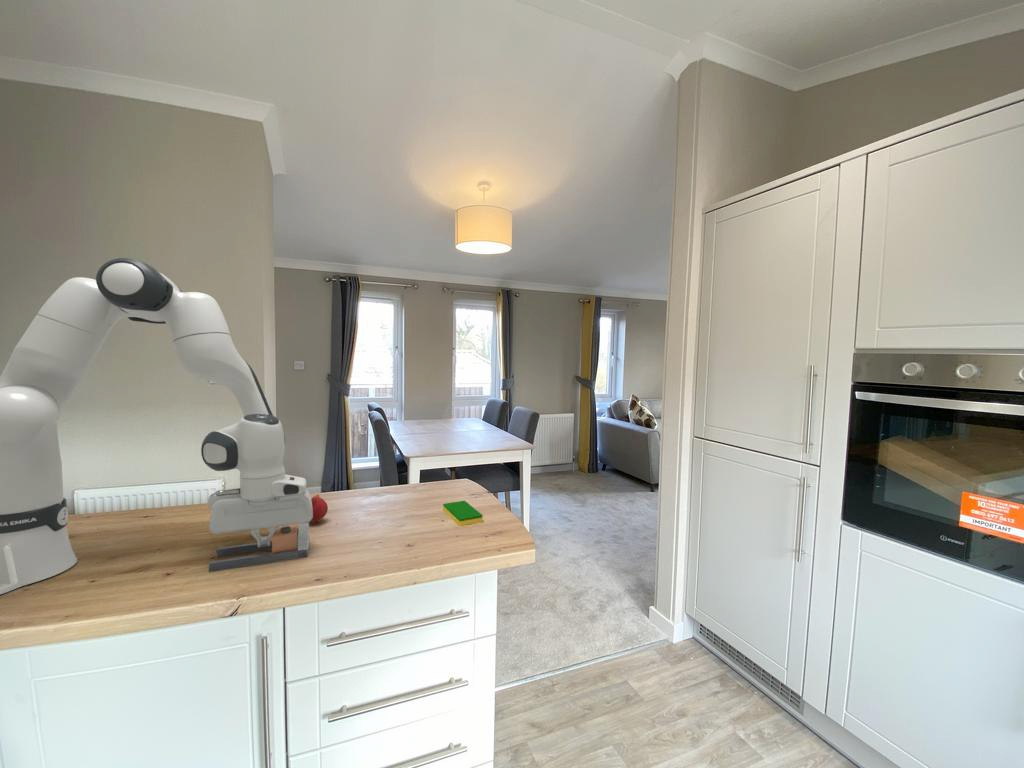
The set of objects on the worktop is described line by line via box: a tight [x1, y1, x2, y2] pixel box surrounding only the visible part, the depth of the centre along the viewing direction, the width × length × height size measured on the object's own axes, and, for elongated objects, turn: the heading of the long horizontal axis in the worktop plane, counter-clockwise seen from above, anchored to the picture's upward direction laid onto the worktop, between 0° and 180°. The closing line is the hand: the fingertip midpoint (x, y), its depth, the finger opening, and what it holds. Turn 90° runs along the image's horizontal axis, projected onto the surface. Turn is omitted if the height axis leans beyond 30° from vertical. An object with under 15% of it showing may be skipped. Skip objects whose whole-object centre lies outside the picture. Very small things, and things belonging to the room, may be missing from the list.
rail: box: [208, 522, 310, 573], centre depth 96 cm, size 19×8×5 cm, turn 113°
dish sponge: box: [442, 500, 484, 527], centre depth 123 cm, size 7×14×2 cm, turn 28°
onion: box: [310, 493, 329, 524], centre depth 116 cm, size 6×6×8 cm
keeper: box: [271, 525, 299, 553], centre depth 98 cm, size 5×5×6 cm
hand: (264, 545), depth 96 cm, fingers closed
